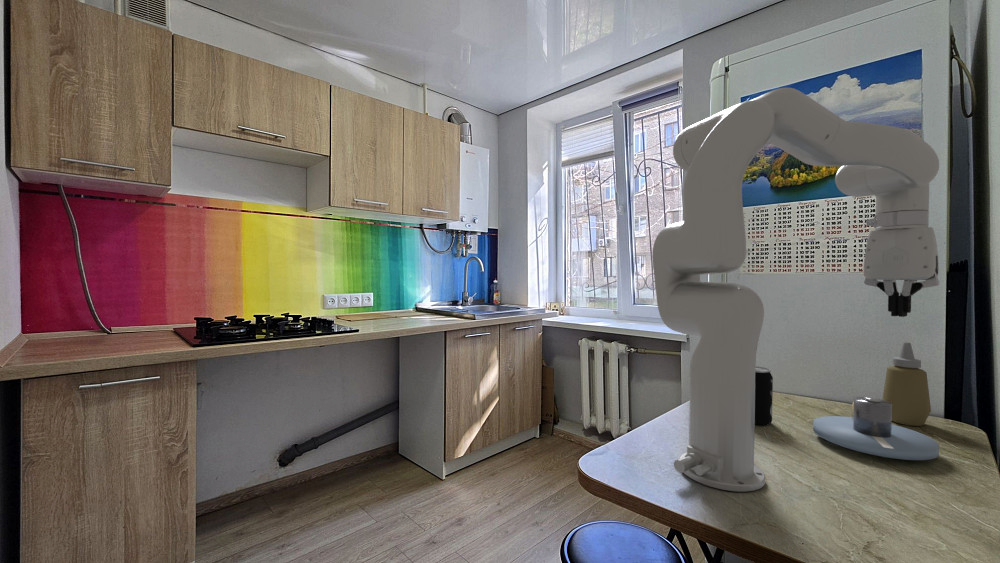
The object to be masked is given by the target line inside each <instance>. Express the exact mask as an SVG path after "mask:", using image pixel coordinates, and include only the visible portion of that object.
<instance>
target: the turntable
mask: <svg viewBox="0 0 1000 563" xmlns="http://www.w3.org/2000/svg"><path fill="white" fill-rule="evenodd" d="M853 412H854V401H852V414H851V415H852V416H839V415H836V416H835V415H827V416H821V417H816V418H815V419H813V423H812V424H813V426H812V428H813V429H812V430H813V433H815V435H817V436H819V437H820V438H821V439H824V440H826V441H827V442H830V443H831V444H835V445H836V446H837V445H838V446H840V447H843V448H846V449H849V450H853V451H855V452H860V453H864V454H867V453H868V454H867V455H871V454H872V455H871V456H876V455H877V457H883V458H890V459H897V460H905V461H928V460H929V461H930V460H933V459H937V458H938V457H939V456H940V445H939V443H938V442H937V440H935V439H934V438H931V437H930V436H928V435H925V434H923V433H921V432H918V431H916V430H913V429H910V428H906V427H903V426H899V425H896V424H892V429H891V437H887V438H883V437H874V436H869V435H865V434H862V433H859V432H857V431H855V430H854V429H853Z"/></svg>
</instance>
